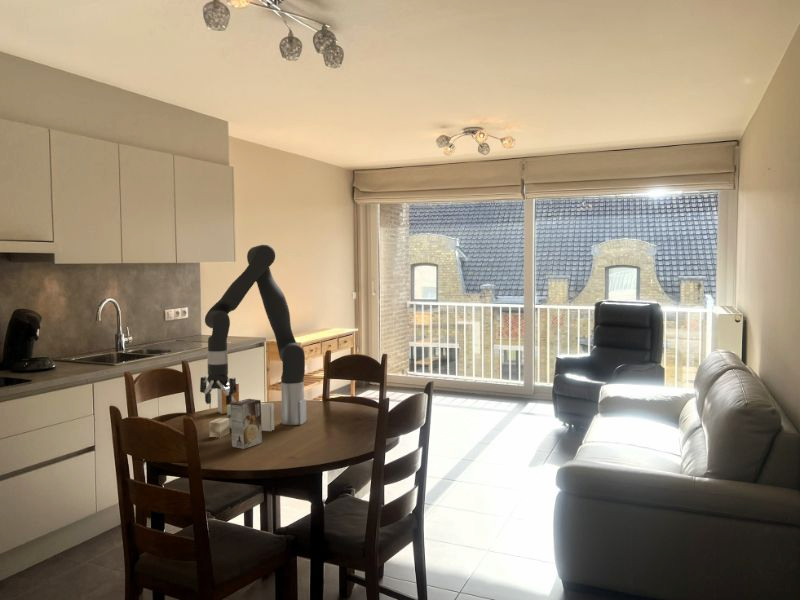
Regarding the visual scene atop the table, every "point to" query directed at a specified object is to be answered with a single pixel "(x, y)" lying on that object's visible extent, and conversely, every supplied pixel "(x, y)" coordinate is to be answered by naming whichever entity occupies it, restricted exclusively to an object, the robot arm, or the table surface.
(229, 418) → the sliding door
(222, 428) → the block
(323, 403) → the table surface
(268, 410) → the wall with pocket
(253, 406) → the coffee box
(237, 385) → the small box
